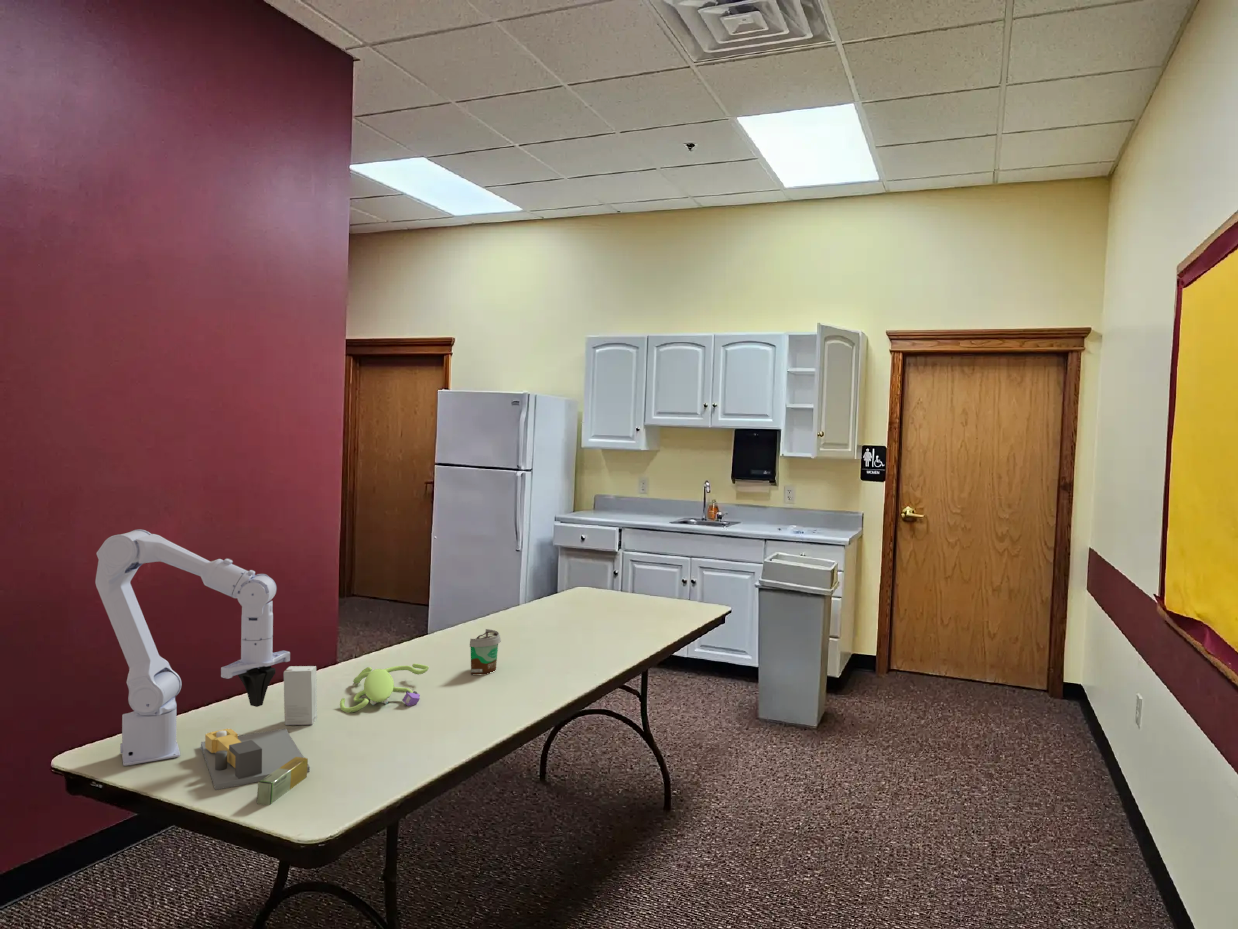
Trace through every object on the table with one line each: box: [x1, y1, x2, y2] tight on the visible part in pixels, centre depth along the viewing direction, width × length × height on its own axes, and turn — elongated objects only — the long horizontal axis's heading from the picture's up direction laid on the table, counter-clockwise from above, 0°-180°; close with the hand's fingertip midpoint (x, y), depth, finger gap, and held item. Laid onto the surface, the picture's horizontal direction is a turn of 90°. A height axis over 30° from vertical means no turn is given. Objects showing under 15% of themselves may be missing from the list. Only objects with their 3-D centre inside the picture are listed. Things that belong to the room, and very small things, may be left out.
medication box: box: [256, 757, 309, 806], centre depth 146 cm, size 12×3×4 cm, turn 171°
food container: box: [469, 628, 502, 675], centre depth 221 cm, size 12×6×10 cm, turn 168°
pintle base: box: [200, 728, 311, 791], centre depth 159 cm, size 16×23×6 cm
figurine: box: [339, 663, 430, 714], centre depth 200 cm, size 18×27×6 cm
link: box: [204, 728, 241, 768], centre depth 157 cm, size 15×5×3 cm, turn 44°
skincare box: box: [283, 665, 318, 726], centre depth 179 cm, size 6×4×12 cm
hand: (256, 705), depth 162 cm, fingers closed
